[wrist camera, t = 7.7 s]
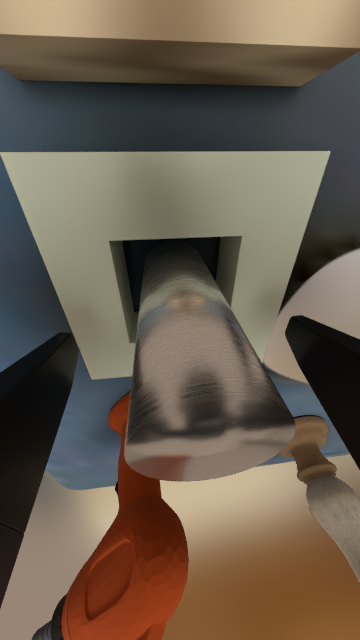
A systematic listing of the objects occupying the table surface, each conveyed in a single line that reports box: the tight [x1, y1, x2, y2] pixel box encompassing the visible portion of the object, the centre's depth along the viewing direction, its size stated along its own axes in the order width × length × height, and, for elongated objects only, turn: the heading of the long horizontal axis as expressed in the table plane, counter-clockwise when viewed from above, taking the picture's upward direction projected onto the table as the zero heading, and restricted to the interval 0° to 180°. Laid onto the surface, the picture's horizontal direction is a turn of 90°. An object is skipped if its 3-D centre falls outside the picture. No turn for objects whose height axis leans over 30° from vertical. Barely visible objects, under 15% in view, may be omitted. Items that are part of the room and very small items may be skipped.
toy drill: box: [32, 392, 189, 640], centre depth 18 cm, size 5×19×15 cm, turn 140°
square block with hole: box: [0, 151, 331, 380], centre depth 12 cm, size 12×12×4 cm
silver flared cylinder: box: [124, 240, 296, 481], centre depth 9 cm, size 4×4×11 cm
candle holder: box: [278, 416, 360, 583], centre depth 22 cm, size 9×9×20 cm
